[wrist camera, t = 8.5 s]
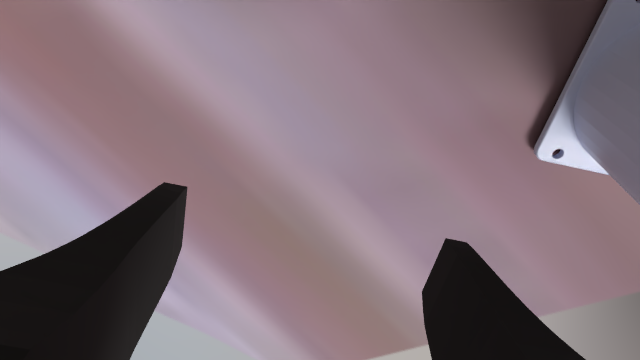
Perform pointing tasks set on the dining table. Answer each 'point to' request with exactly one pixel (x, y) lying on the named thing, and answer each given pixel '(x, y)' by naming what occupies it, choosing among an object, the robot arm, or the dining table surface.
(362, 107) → the dining table surface
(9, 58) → the dining table surface
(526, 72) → the dining table surface
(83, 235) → the robot arm
